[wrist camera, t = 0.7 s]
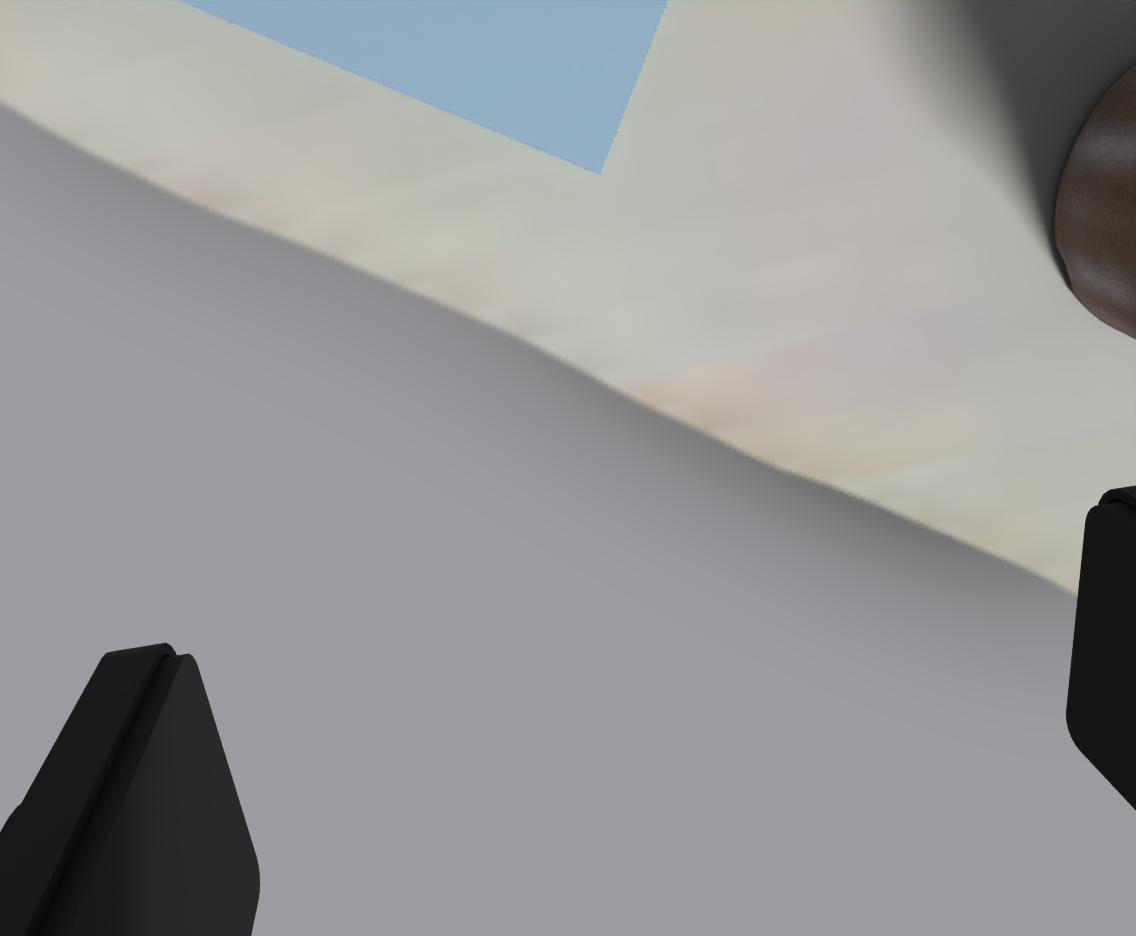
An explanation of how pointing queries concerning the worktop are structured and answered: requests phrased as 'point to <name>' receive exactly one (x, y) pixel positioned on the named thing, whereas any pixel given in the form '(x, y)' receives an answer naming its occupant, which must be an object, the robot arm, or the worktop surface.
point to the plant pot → (1102, 209)
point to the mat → (481, 58)
